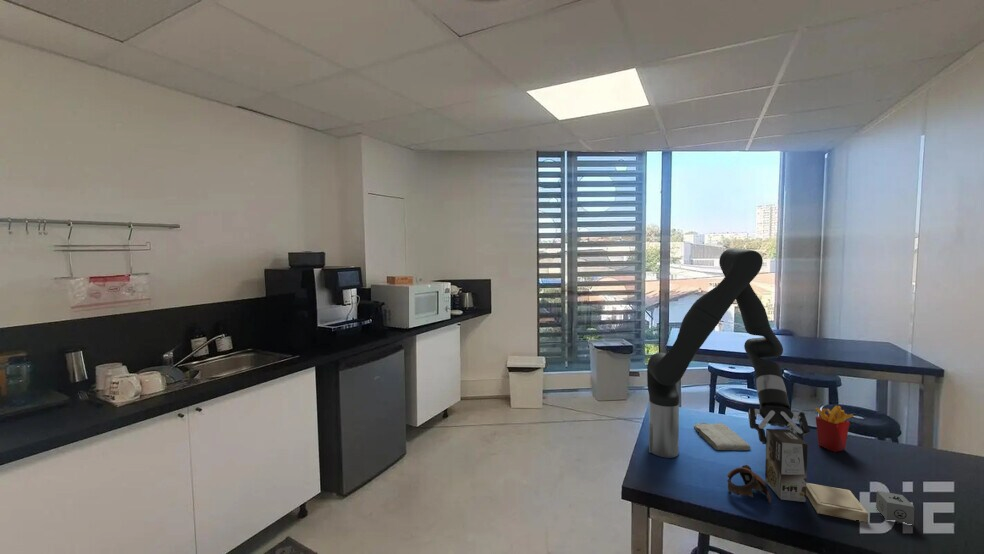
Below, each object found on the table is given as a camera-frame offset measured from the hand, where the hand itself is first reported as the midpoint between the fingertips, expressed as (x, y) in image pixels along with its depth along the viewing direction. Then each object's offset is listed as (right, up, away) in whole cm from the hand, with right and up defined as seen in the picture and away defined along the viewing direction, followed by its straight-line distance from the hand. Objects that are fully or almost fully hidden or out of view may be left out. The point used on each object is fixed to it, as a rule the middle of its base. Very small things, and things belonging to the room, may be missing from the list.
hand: (782, 445), depth 112 cm
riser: (+7, -12, -9) cm, 17 cm away
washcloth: (-1, -11, +29) cm, 31 cm away
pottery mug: (-12, -12, -3) cm, 17 cm away
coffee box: (-1, -12, -2) cm, 12 cm away
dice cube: (+18, -12, -14) cm, 26 cm away
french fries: (+33, -10, +20) cm, 40 cm away
